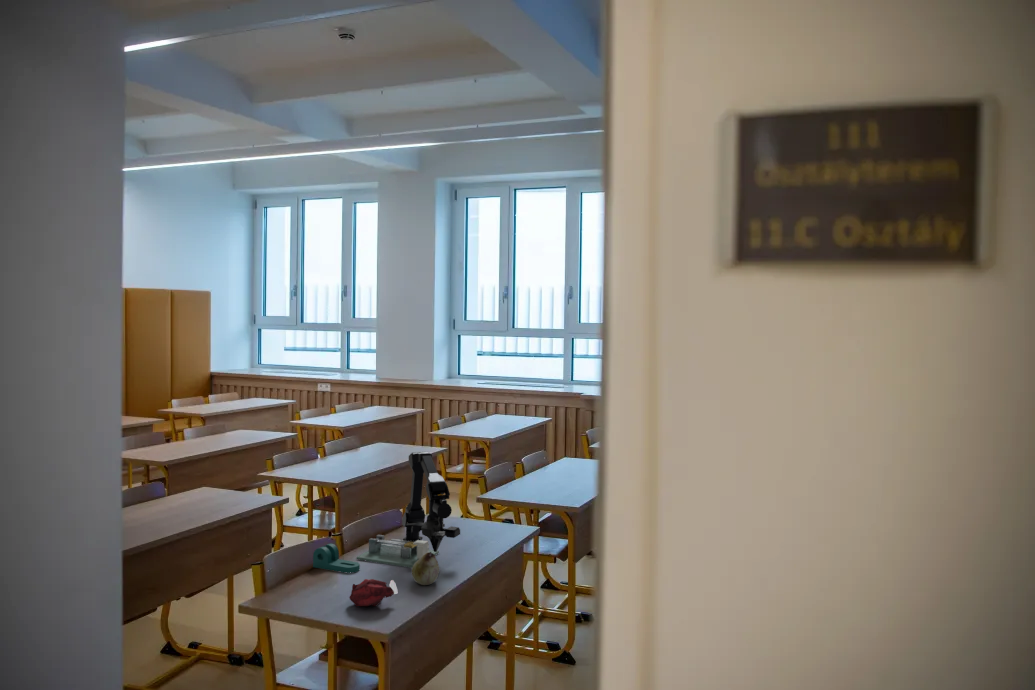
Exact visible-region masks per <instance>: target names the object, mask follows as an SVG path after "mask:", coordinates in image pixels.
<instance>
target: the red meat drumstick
mask: <svg viewBox="0 0 1035 690" xmlns="http://www.w3.org/2000/svg"><path fill="white" fill-rule="evenodd" d="M351 586H352V587H351V588H352V589H351V592H350V595H349V597H348V598H349V600H350V601H351V602H352V603H353V604H354V606H355V607H357V606H360V607H369V606H372V607H374V606H375V607H376V606H378V605H380V603H382V602H383V600H384V599H385V598H386V599H387V598H389V597H392V596H393V595H396V594H397V595H398V593H399V592H398V591H399V590H398V587H397V585H396V582H395V581H394V579H392V580H390V582H389V586H387V582H386V581H382V580H379V579H374V578H371V579H368V578H365V579H363V581H362V582H361V581H360V583H358V584H355V583H353V584H352V585H351Z"/></svg>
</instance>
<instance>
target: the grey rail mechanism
mask: <svg viewBox="0 0 1035 690" xmlns="http://www.w3.org/2000/svg"><path fill="white" fill-rule="evenodd" d="M375 536H376V538H372V537H371V538H369V539H368V551H369V553H373V554H375V553H377V549H379V550H381V552H380V555H381V556H388V557H395V558H402V557H403V559H409V558H410V552H411V553H412V554H417V546H418V545H417V546H415V547H413V548H410V547H401V546H394V545H386V544H377V538H380V539H381V540H385V535H384V534H383V535H382V534H377V535H375ZM390 541H397V542H405V543H408V542H412V541H406V540H403V539H396V538H391V539H390ZM413 542H415V541H413Z"/></svg>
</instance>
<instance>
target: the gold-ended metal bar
mask: <svg viewBox="0 0 1035 690" xmlns="http://www.w3.org/2000/svg"><path fill="white" fill-rule="evenodd" d="M413 543H414V541H411V542H408V543H405V542H397V541H391V540H388V539H384V540H381V539H380V538H377V544H386V545H394V546H401V547H410V548H413V547H415V546H417V545H414V544H413Z"/></svg>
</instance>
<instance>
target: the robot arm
mask: <svg viewBox="0 0 1035 690" xmlns="http://www.w3.org/2000/svg"><path fill="white" fill-rule="evenodd" d="M408 464H409V467H410V469H411V470H412V473H411V474H412V476H411V486H410V497H409V499H410V501H409V503H408V504H407V505H406V506H405V512H404V514H403V516H402V517H401V524H402V526H403V527H404V528H405V537H403V538H402V540H404V541H411V542H414V541H417V540H419V539H420V540H421V538H422V539H423V538H424V537H427V538H428V539H429V541H430V544H431V547H432V550H434V552H437V551H439V548H440V545H441V543H442V540H443V539H444V537H446V538H451V539H455V538H456V537H458V536H459V535H461V529H460V527H458V526H452V525H451V526H450V527H447V528H445V526H446V525H445V523H444V519H447V518H449V517H450V516H451V515H452V511H453V510H452V507H451V505H450V504H449V503H448V500H450V495H451V493H450V489H449V486H448V483H447V482H446V480H445V479H444V476H442V475H440V474H439V473H438V470H437V468H436V465H435V463H434V460H433V454H432V452H430V451H415V452H411V453H410V454H409V455H408ZM424 475H425V479H426V480H427V481H426V486H425V490H426V495H427V497H428V515H427V516H426V513H425V510H424V508H423V505H422V495H423V485H424V484H423V482H424ZM425 519H426V521H425ZM420 532H421V534H422V535H423V536H424V537H423V536H420Z"/></svg>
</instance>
